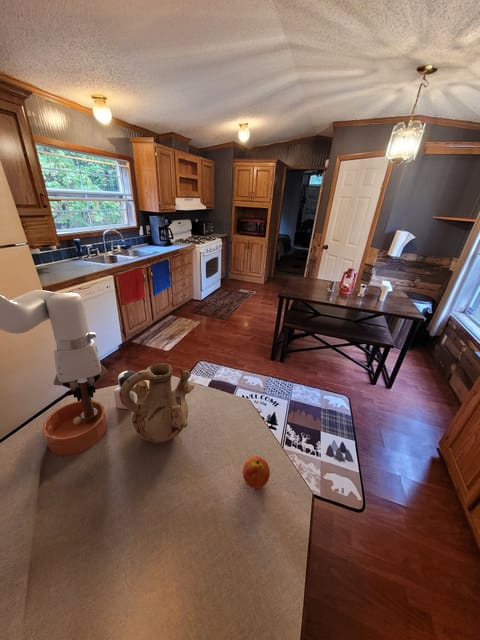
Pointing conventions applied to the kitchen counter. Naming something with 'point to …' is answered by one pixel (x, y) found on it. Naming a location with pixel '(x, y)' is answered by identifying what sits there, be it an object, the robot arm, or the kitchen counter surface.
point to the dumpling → (77, 420)
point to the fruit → (256, 472)
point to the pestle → (86, 402)
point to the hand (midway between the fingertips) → (85, 395)
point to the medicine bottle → (121, 380)
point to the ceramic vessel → (157, 402)
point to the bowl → (73, 429)
